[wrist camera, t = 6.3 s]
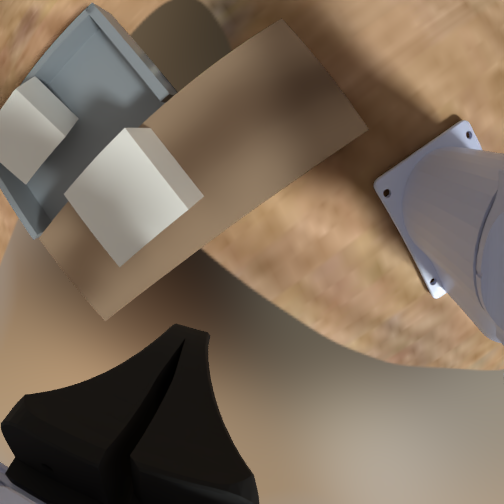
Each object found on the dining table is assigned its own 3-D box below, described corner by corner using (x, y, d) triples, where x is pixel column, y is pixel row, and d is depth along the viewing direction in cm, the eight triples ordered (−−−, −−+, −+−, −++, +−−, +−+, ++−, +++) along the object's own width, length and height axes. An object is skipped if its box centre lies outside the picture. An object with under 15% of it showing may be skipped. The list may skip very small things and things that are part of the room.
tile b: (204, 196, 16) (188, 209, 13) (143, 246, 17) (119, 267, 14) (150, 128, 15) (125, 127, 12) (94, 183, 16) (63, 194, 13)
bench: (354, 130, 17) (368, 129, 14) (123, 300, 22) (105, 321, 19) (281, 35, 15) (281, 18, 13) (63, 225, 20) (38, 238, 18)
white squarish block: (15, 88, 12) (35, 76, 14) (-21, 143, 13) (-2, 124, 16) (65, 136, 15) (78, 118, 17) (25, 184, 16) (40, 162, 18)
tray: (182, 98, 17) (169, 93, 15) (53, 229, 21) (33, 239, 18) (110, 13, 15) (92, 2, 13) (1, 146, 19) (-21, 150, 16)
